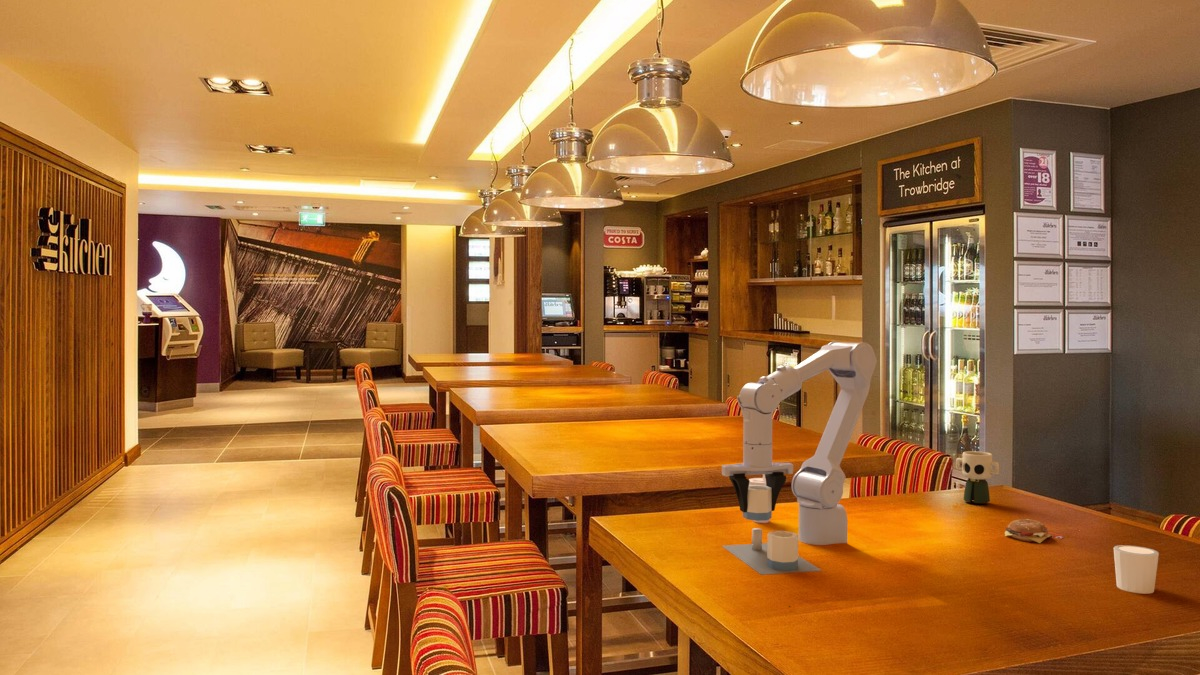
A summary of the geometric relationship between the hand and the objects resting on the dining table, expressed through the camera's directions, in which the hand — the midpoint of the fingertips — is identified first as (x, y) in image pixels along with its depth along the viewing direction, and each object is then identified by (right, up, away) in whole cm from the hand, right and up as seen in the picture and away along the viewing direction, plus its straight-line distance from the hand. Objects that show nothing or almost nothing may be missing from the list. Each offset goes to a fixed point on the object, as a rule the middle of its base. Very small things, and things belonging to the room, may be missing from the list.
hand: (757, 510), depth 172 cm
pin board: (+1, -10, -6) cm, 11 cm away
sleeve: (0, -1, 0) cm, 1 cm away
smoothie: (+7, -9, +30) cm, 32 cm away
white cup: (+64, -10, -19) cm, 67 cm away
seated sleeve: (+3, -8, -12) cm, 14 cm away
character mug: (+66, -9, +51) cm, 84 cm away
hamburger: (+64, -10, +16) cm, 67 cm away
